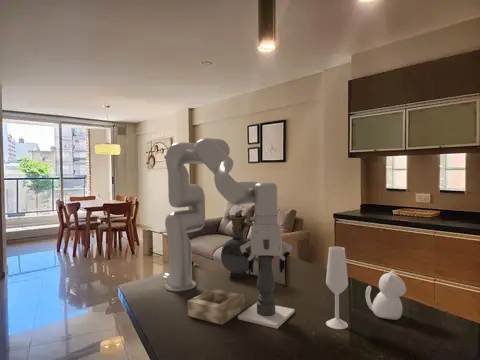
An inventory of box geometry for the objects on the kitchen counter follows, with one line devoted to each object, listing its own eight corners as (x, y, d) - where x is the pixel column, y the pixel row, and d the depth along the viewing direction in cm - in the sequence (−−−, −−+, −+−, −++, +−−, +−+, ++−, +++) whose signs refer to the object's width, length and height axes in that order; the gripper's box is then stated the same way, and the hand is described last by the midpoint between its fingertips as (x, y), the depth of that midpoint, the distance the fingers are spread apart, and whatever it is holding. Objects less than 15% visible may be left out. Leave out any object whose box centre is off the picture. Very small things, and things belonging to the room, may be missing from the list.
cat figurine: (403, 325, 108) (404, 277, 107) (361, 316, 115) (362, 271, 114) (407, 315, 116) (408, 270, 115) (367, 306, 122) (368, 264, 122)
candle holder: (274, 317, 113) (274, 240, 111) (255, 315, 114) (255, 239, 113) (276, 309, 119) (276, 236, 117) (258, 307, 120) (257, 235, 119)
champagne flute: (323, 319, 113) (323, 245, 112) (344, 319, 112) (344, 245, 112) (328, 329, 106) (328, 250, 105) (350, 329, 106) (350, 250, 105)
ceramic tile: (237, 319, 114) (237, 316, 114) (257, 304, 126) (257, 301, 126) (277, 328, 107) (277, 325, 106) (294, 312, 119) (294, 309, 119)
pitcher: (229, 270, 168) (228, 208, 167) (265, 275, 160) (265, 210, 159) (217, 276, 159) (216, 210, 158) (255, 282, 150) (255, 212, 149)
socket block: (187, 315, 117) (187, 300, 117) (211, 301, 129) (211, 288, 129) (222, 324, 110) (222, 309, 109) (244, 309, 122) (244, 294, 121)
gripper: (239, 222, 111) (240, 275, 112) (293, 221, 111) (294, 274, 112) (239, 218, 119) (240, 268, 119) (290, 218, 119) (291, 268, 119)
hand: (266, 271), depth 116 cm, fingers open, 9 cm apart
